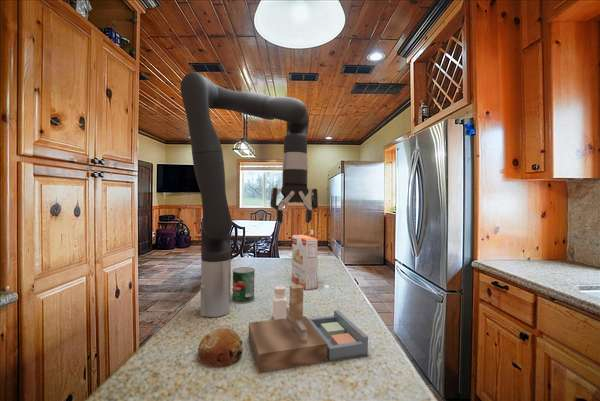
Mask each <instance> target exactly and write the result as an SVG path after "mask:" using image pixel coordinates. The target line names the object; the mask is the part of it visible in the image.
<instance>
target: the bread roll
mask: <svg viewBox="0 0 600 401" xmlns="http://www.w3.org/2000/svg"><path fill="white" fill-rule="evenodd" d="M243 351H244V347H243V341H242V339H241V338H240V336H239V334H238V333H237V331H235V330H234V329H233V328H230V327H218V328H216V329H212V330H210V331H209V332H208V333H206V334H205V335H204V336H203V337H202V339H201V341H200V342H199V345H198V348H197V355H198V359H199V361H200V362H201V363H202V364H205V365H208V366H210V367H214V368H215V367H217V368H218V367H225V366H229V365H232V364H233V363H235V362H237V360H239V359H241V355H242V353H243Z"/></svg>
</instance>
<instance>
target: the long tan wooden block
mask: <svg viewBox="0 0 600 401" xmlns="http://www.w3.org/2000/svg"><path fill="white" fill-rule="evenodd" d="M288 301H289V302H288V304H289V307H288V306H287V308H286V319H287V320H288V322H289V323H290V325H291V326H292V328H293V329H294V331H295V333H296V334H297V336H298V337H299V339H300V340H301V342H302V343H303V342H307V328H306V327H305V326H304V324H303V323H302V322H301V320H300V319H303V316H304V289H303V287H302V286H301V285H300V284H299V285H297V284H289V300H288Z"/></svg>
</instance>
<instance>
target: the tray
mask: <svg viewBox="0 0 600 401" xmlns="http://www.w3.org/2000/svg"><path fill="white" fill-rule="evenodd" d="M307 319H308V320H309V321H310V323H311V324H312V325H313V326H314V328H315V329H316V330H317V331H318V333H319V334H320V335H321V336H322V338H323V339H324V340H325V341H326V343H327V361H328V362H337V361H341V360H347V359H352V358H353V359H354V358H360V357H364V356H368V355H369V352H368V351H369V348H368V347H369V336H368V335H367V334H365V332H364V331H362V330H361V329H360V328H359V327H358V326H356V324H354V323H353V322H352V321H351V320H350V319H349V318H347V316H345V315H344V314H343V313H342V312H341V311H340V310H339V309H335V310H333V315H326V316H325V315H324V316H319V317H318V316H317V317H311V318H310V317H309V318H308V317H307ZM332 322H338V323H339V324H340V325H341V326H342V327H343V328H344V329H345V333H349V334H350V335H351V336H352V337H353V338H354V339H355V340H356V341H357V342H352V343H346V344H339V345H333V344H332V342H331V337H330V338H327V337H326V335H325V334H324V333H323V332H322V331H321V324H324V323H332Z"/></svg>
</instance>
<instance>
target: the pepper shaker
mask: <svg viewBox="0 0 600 401" xmlns="http://www.w3.org/2000/svg"><path fill="white" fill-rule="evenodd" d="M287 307H288V298H287V296H286V287H285V286H283V285H279V286H278V285H277V286H275V287H274V296H273V297H272V317H273V320H276V319H285V318H286V308H287Z"/></svg>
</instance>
